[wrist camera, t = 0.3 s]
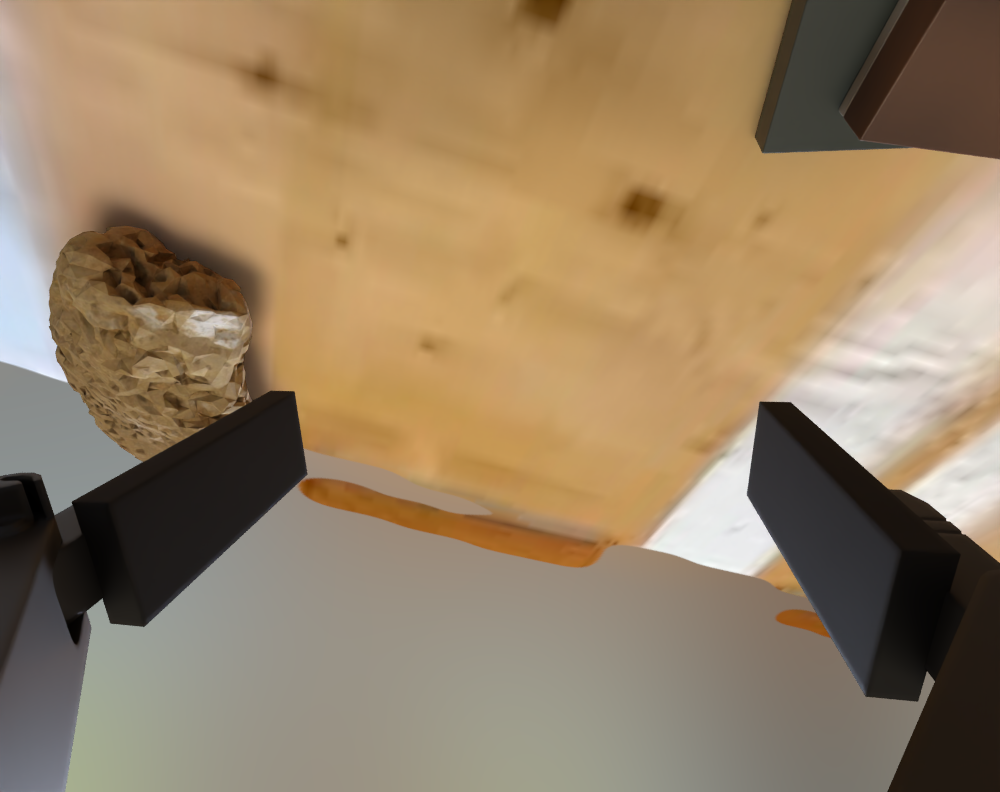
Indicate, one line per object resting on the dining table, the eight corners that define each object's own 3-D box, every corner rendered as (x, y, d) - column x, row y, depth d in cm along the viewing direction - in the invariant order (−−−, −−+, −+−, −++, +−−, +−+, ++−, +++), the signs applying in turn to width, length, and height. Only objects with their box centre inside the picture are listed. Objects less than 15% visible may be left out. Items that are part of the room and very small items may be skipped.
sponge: (86, 180, 29) (65, 417, 40) (19, 255, 23) (17, 505, 34) (329, 270, 35) (253, 453, 46) (321, 346, 29) (236, 533, 40)
